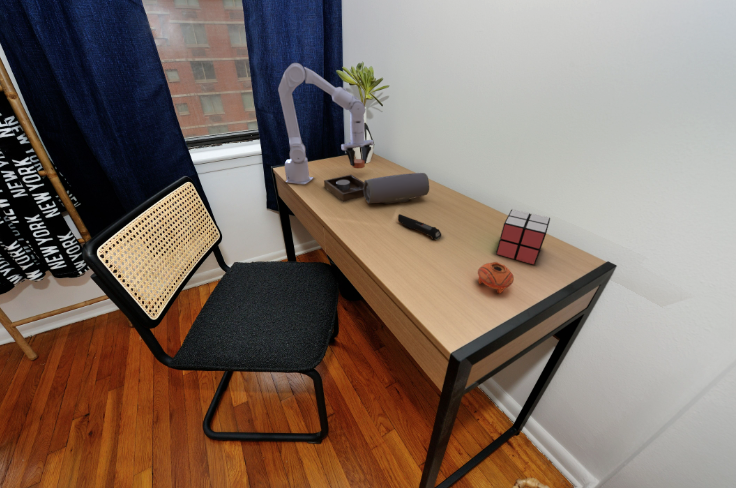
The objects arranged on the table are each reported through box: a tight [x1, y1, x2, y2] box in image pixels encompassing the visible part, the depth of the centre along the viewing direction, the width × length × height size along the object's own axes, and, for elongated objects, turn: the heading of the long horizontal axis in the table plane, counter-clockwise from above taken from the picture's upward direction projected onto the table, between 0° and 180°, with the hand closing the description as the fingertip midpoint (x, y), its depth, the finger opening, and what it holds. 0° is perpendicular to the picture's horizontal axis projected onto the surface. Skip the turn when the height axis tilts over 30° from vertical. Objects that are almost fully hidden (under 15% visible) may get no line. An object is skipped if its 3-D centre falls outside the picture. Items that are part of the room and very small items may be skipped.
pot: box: [477, 261, 515, 294], centre depth 73 cm, size 8×8×7 cm
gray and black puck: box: [336, 180, 350, 190], centre depth 125 cm, size 6×6×2 cm
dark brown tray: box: [323, 174, 365, 203], centre depth 122 cm, size 17×13×3 cm
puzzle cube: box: [495, 208, 551, 266], centre depth 84 cm, size 10×10×10 cm
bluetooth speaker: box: [363, 172, 430, 205], centre depth 113 cm, size 23×9×10 cm, turn 108°
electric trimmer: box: [397, 213, 442, 241], centre depth 96 cm, size 4×16×3 cm, turn 45°
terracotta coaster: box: [351, 158, 366, 169], centre depth 134 cm, size 6×6×2 cm
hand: (358, 164), depth 134 cm, fingers closed on terracotta coaster, 5 cm apart
